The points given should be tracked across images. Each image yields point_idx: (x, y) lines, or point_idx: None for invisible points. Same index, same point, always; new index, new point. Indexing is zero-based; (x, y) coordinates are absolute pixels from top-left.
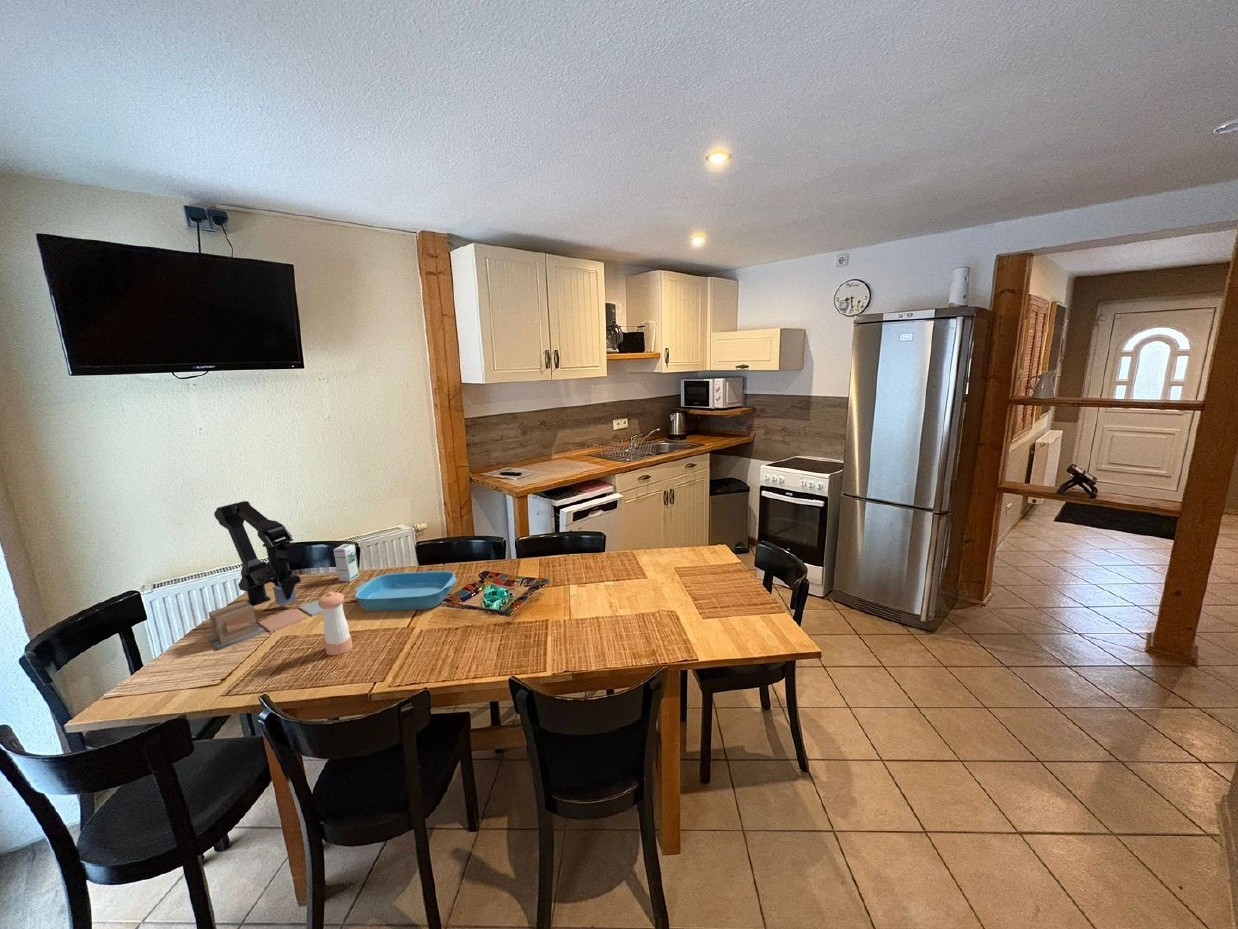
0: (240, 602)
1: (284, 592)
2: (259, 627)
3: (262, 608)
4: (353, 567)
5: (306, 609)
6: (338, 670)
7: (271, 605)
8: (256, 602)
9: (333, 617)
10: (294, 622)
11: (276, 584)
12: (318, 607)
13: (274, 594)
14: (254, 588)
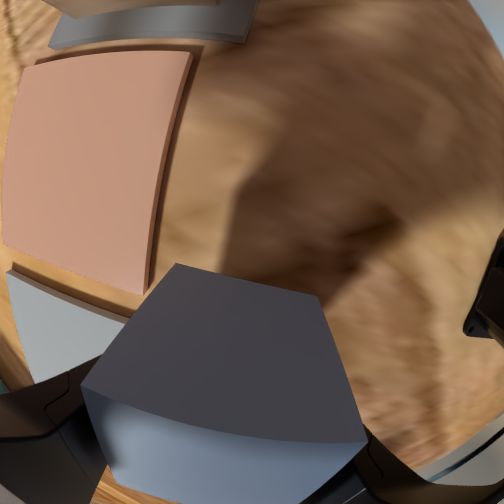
0: None
1: (60, 375)
2: (96, 29)
3: (430, 238)
4: None
5: (68, 311)
6: None
7: (407, 291)
8: (499, 267)
9: None
10: (6, 185)
11: (360, 491)
12: (50, 340)
13: (338, 353)
14: None
